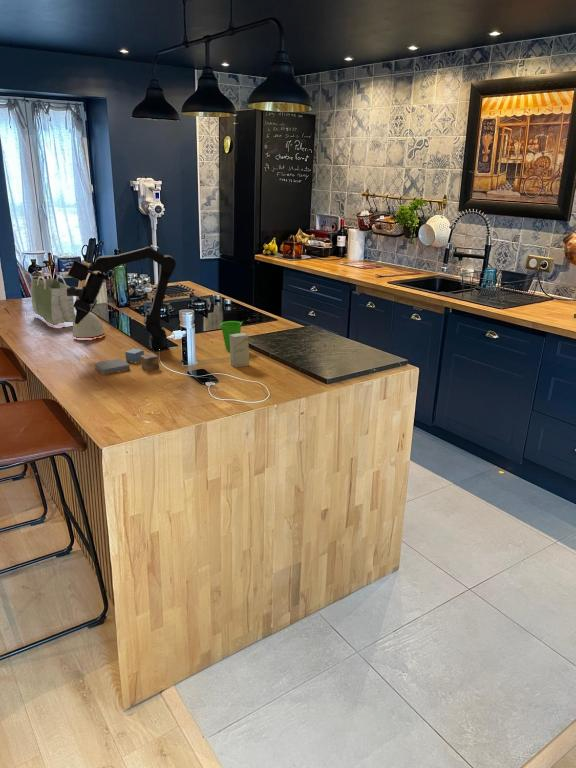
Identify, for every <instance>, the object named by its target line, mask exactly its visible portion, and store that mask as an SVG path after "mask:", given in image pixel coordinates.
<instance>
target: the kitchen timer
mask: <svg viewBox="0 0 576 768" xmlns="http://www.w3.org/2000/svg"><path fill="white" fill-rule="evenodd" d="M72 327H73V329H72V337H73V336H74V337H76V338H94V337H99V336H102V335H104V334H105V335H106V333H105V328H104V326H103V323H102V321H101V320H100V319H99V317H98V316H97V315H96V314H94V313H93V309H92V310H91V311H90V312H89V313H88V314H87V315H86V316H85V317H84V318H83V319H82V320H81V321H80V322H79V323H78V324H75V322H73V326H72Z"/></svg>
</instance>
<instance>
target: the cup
mask: <svg viewBox="0 0 576 768" xmlns="http://www.w3.org/2000/svg"><path fill="white" fill-rule="evenodd" d="M219 325H220V326H221V327H220V328H221V332H222V336H223V341H224V345H225V349H226V351H228V352H230V337H229V335H230V334H237V333H241V331H242V325H243V323H242V321H239V320H238V321H237V320H229V321H224V322H223V321H222V322H221V323H220V324H219Z"/></svg>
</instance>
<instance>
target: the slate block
mask: <svg viewBox="0 0 576 768" xmlns="http://www.w3.org/2000/svg"><path fill="white" fill-rule="evenodd" d="M124 353H125V361H126V360H127V361H126V362H128V361H132V362H131V363H133V362H137V363H139V362H141V361H140V360H141V355H145V351H144V349H138V348H133V349H129V350H126V351H125V352H124ZM138 361H139V362H138Z"/></svg>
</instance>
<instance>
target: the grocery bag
mask: <svg viewBox="0 0 576 768" xmlns="http://www.w3.org/2000/svg"><path fill="white" fill-rule="evenodd" d="M59 278H60V279H61V280H62V282H63V283H62V282H60V281H59ZM30 280H31V281H30V282H31V283H30V296H31V297H30V298H31V304H32V309H33V310H32V311H33V313H34V312H35V313H36V314H38V315H40V316H41V317H43V318H44V319H45V320H46V321H47V322H49V323H51V324H53V325H57V324H59V323H64V322H75V318H76V312H75V308H74V303H75V302H74V296H67V292H66V291H67V287H70V286H69V285H67V283H66V281H65V279H64V277H63V276H62V275H59V274H58V275H57V276H56V279H54V278H52V277H49V278H45V277H44V276H42V275H39V276H38V278H36V279H35V278H31V279H30Z"/></svg>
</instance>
